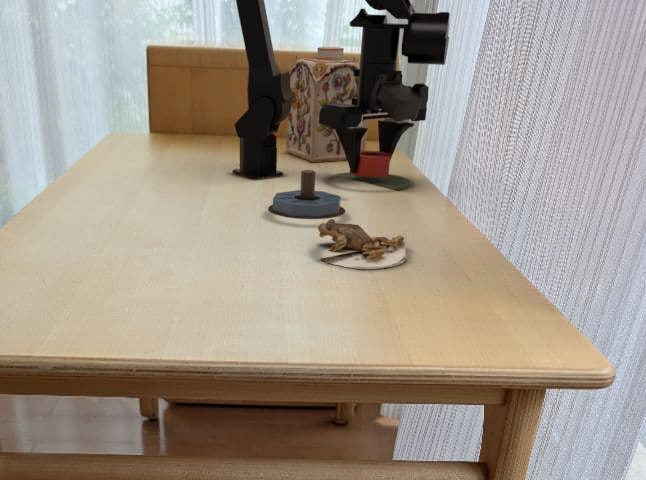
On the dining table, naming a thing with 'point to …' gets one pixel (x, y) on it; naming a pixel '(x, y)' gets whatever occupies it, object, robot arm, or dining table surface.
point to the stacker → (307, 195)
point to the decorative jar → (320, 104)
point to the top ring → (373, 164)
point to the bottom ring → (306, 204)
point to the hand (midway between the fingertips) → (368, 170)
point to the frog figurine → (362, 247)
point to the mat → (381, 181)
